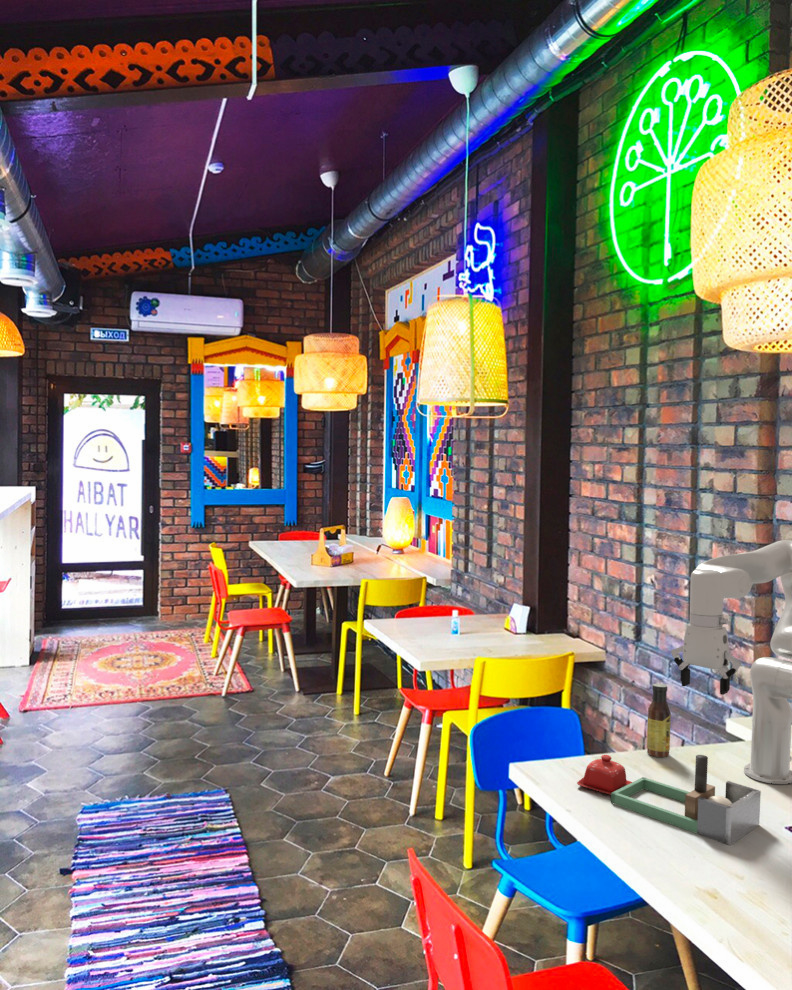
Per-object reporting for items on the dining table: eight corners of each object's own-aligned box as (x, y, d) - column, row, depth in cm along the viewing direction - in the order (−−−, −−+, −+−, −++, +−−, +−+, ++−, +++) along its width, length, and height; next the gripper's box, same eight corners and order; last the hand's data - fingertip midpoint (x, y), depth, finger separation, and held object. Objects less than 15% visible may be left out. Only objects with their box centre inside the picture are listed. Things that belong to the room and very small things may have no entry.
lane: (642, 786, 212) (643, 777, 212) (726, 814, 197) (727, 804, 197) (610, 802, 202) (611, 792, 202) (697, 833, 186) (697, 823, 186)
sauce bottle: (670, 759, 232) (673, 689, 231) (647, 757, 233) (650, 687, 232) (668, 751, 238) (670, 683, 238) (645, 749, 240) (647, 681, 239)
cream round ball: (735, 835, 186) (737, 806, 185) (701, 828, 189) (702, 799, 189) (738, 823, 192) (739, 795, 191) (704, 817, 195) (705, 789, 195)
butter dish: (635, 787, 213) (636, 754, 212) (617, 801, 203) (618, 767, 203) (593, 775, 220) (594, 744, 219) (574, 789, 211) (575, 756, 210)
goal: (726, 814, 197) (728, 781, 196) (759, 824, 191) (760, 790, 191) (697, 833, 186) (698, 798, 186) (730, 845, 181) (731, 809, 180)
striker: (704, 809, 198) (706, 750, 197) (714, 813, 196) (716, 753, 195) (684, 821, 191) (686, 760, 190) (694, 825, 189) (697, 763, 189)
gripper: (747, 623, 199) (746, 693, 200) (679, 613, 211) (678, 679, 212) (734, 628, 194) (733, 700, 195) (665, 617, 206) (664, 685, 207)
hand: (704, 689), depth 204 cm, fingers open, 9 cm apart
